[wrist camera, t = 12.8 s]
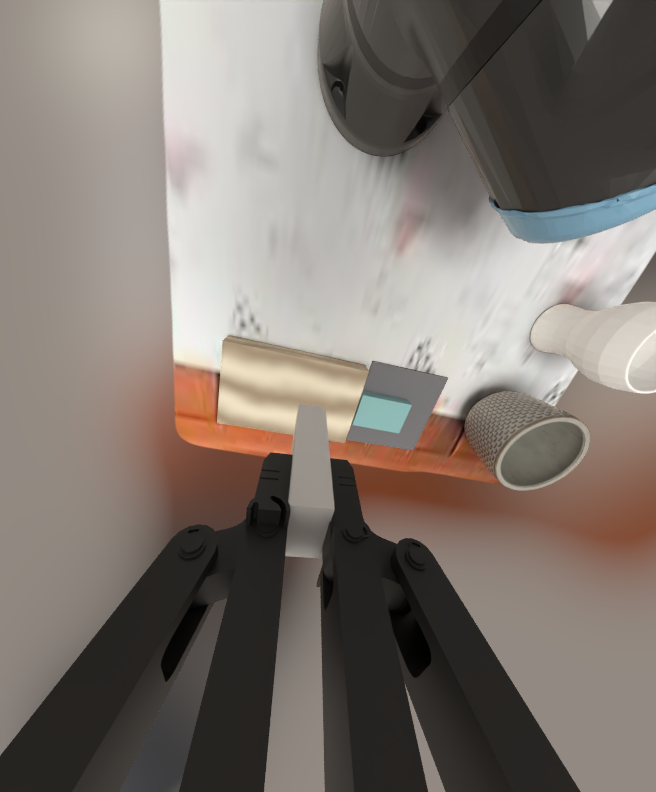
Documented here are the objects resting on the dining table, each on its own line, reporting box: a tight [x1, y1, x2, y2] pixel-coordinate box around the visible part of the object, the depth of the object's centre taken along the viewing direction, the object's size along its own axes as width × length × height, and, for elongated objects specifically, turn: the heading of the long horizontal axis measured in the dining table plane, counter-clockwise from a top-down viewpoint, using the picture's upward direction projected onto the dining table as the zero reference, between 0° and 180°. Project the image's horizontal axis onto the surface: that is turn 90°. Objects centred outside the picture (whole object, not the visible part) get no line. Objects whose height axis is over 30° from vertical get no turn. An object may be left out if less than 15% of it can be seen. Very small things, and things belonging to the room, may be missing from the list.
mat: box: [346, 361, 448, 450], centre depth 46 cm, size 16×14×1 cm
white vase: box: [530, 302, 656, 393], centre depth 35 cm, size 11×11×15 cm
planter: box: [464, 391, 590, 490], centre depth 43 cm, size 14×14×13 cm
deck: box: [217, 336, 369, 443], centre depth 42 cm, size 14×22×3 cm, turn 76°
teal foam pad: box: [352, 391, 412, 433], centre depth 45 cm, size 9×6×2 cm, turn 75°
